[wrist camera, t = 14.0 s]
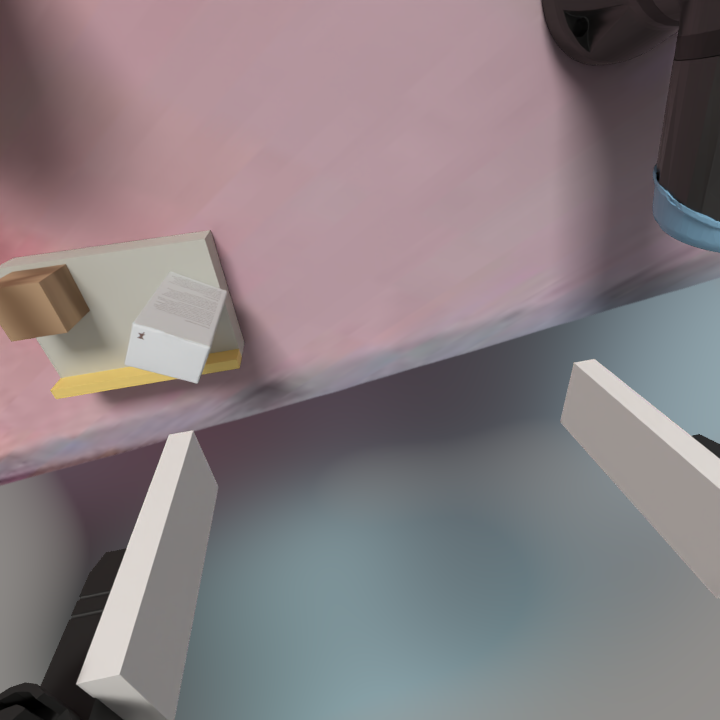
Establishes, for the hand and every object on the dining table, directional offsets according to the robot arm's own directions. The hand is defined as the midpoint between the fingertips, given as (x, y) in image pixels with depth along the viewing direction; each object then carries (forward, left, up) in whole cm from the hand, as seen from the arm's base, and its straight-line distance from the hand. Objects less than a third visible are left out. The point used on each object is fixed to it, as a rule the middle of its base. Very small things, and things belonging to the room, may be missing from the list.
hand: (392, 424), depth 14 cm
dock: (+22, +7, -35) cm, 42 cm away
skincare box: (+15, +6, -31) cm, 35 cm away
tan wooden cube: (+28, +3, -31) cm, 42 cm away
